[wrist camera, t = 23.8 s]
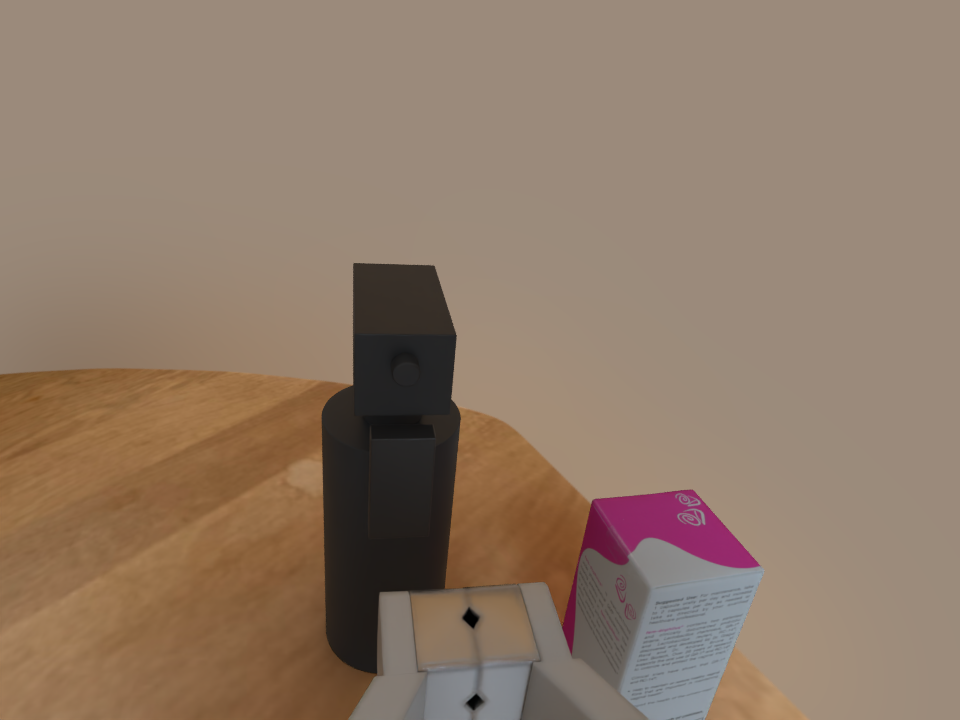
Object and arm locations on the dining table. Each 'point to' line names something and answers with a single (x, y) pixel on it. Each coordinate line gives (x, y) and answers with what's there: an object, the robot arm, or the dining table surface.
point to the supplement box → (659, 600)
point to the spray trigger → (400, 480)
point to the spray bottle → (346, 440)
